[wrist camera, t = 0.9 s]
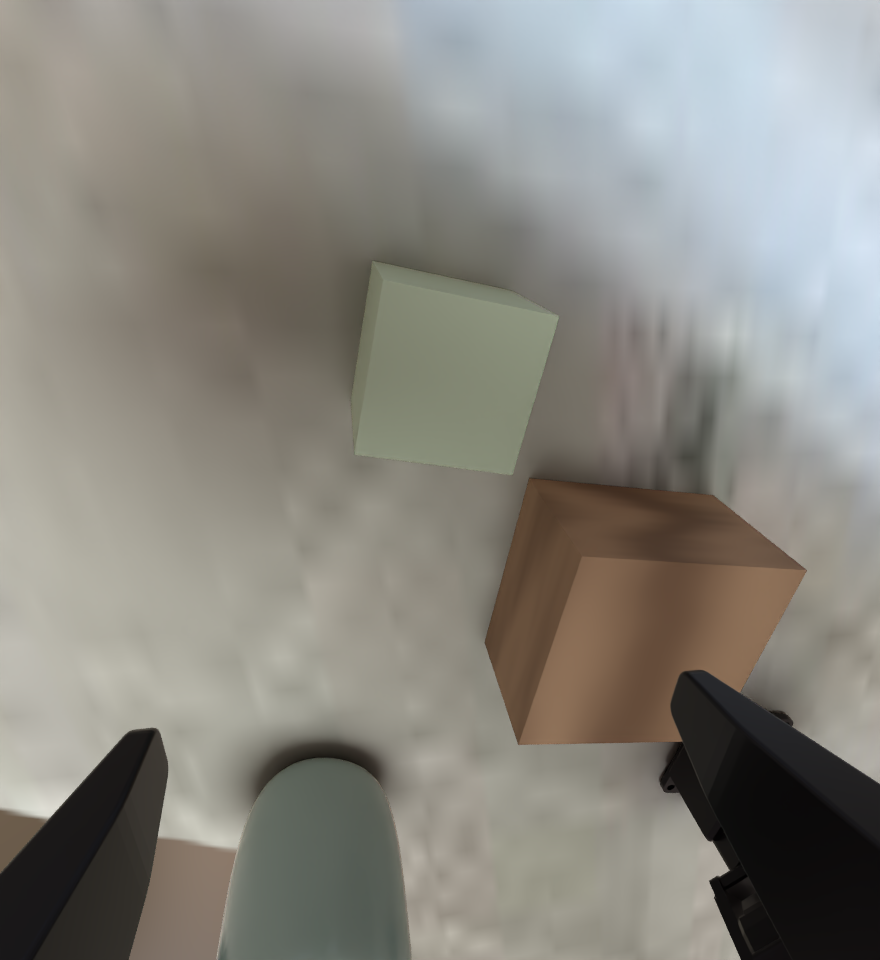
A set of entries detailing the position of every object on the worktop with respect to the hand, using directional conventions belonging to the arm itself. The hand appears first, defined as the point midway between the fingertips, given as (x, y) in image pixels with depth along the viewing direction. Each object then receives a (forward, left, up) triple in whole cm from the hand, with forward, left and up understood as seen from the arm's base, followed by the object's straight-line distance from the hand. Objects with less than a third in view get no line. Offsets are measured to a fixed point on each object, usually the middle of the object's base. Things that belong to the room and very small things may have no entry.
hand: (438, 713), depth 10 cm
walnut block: (-11, +6, -14) cm, 19 cm away
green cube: (-1, -3, -14) cm, 14 cm away
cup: (0, +21, -14) cm, 25 cm away
